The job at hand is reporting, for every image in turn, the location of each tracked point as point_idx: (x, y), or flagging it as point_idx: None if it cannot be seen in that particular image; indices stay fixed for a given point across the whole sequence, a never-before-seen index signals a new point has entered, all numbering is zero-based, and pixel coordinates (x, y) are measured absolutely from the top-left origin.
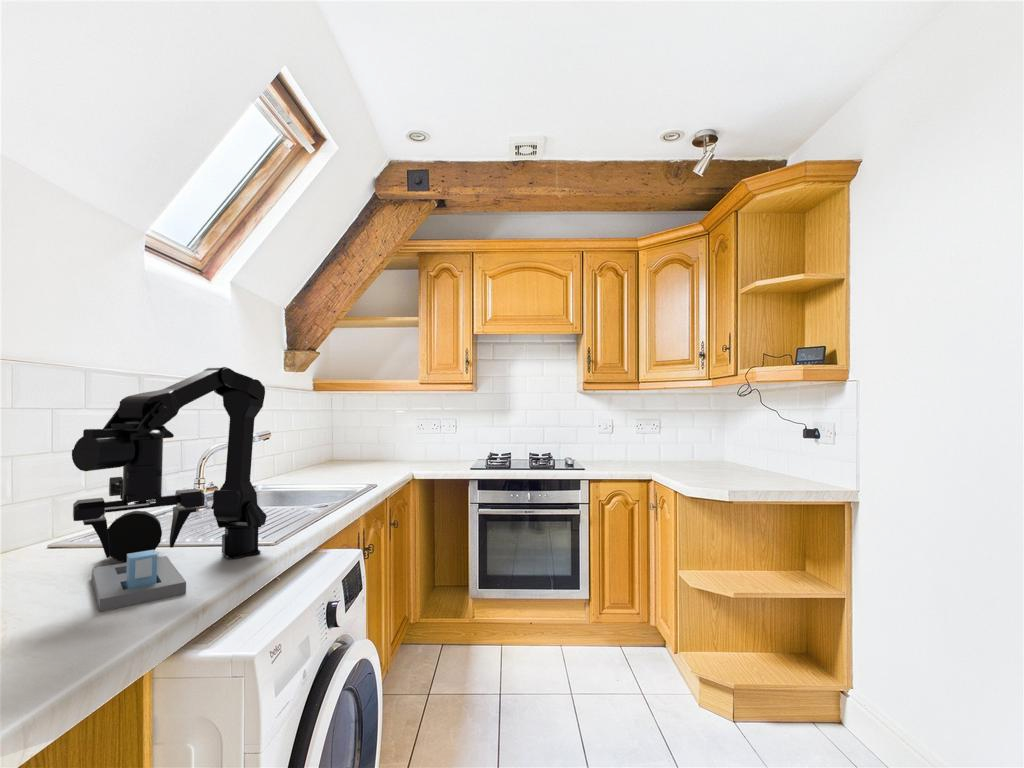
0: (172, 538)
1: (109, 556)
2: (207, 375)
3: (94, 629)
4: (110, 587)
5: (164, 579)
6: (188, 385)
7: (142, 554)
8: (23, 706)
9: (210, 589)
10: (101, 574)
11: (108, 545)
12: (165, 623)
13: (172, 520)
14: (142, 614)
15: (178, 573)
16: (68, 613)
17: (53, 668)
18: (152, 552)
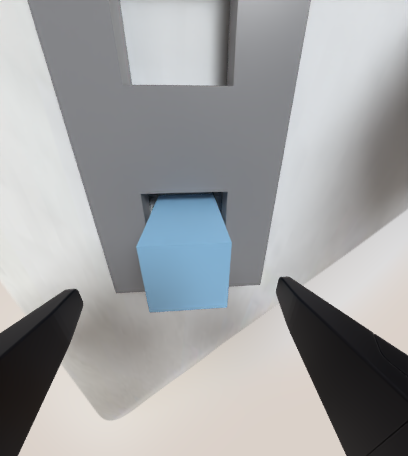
0: (294, 336)
1: (81, 308)
2: None
3: (128, 331)
4: (123, 228)
5: (232, 244)
6: None
7: (187, 287)
8: (107, 415)
9: (288, 273)
10: (59, 21)
11: (53, 373)
12: (203, 351)
13: (393, 396)
14: (183, 316)
15: (269, 216)
16: (70, 252)
17: (110, 385)
18: (219, 281)
